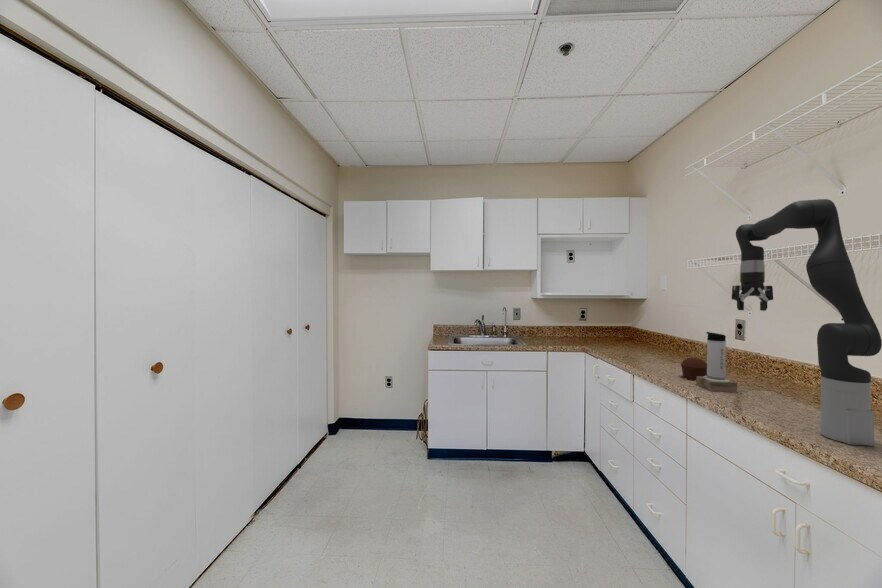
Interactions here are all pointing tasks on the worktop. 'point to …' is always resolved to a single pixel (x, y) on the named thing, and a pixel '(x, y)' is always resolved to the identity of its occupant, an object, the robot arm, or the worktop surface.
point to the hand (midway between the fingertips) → (752, 310)
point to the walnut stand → (716, 384)
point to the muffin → (693, 368)
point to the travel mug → (716, 356)
